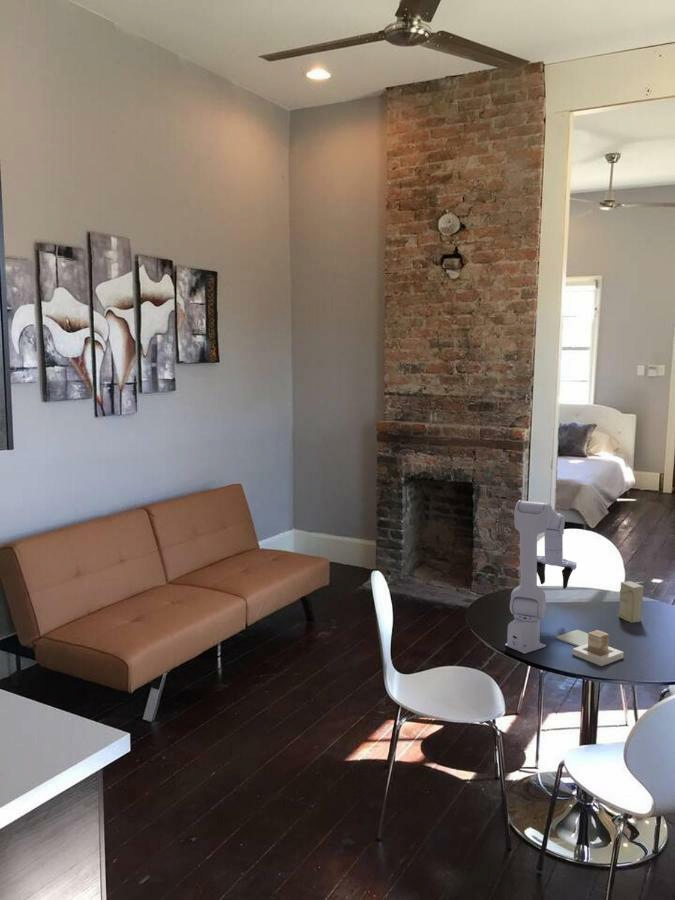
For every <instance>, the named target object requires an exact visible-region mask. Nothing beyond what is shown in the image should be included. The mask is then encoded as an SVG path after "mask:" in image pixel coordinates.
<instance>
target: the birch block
mask: <svg viewBox="0 0 675 900" xmlns="http://www.w3.org/2000/svg"><path fill="white" fill-rule="evenodd" d="M609 637H610V634H609V633H607V632H605V631H602V630H599V629H596V630H593V631H589V632H588V652H590V653H593V654H595V655H598V656H603V655H606V654H608V646H609V644H610V643H609V642H610V641H609V639H610V638H609Z"/></svg>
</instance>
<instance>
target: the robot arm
mask: <svg viewBox="0 0 675 900" xmlns="http://www.w3.org/2000/svg"><path fill="white" fill-rule="evenodd" d="M513 513H514V518H513V519H514V520H513V521H514V523H513V524H514V529H515V530H516V531H518V532H519V539H520V540H519V541H520V543H519V544H520V545H519V546H520V548H519V550H520V555H519V556H520V558H519V559H520V566H519V567H520V584H519V585H518V586H516V587H514V589H512V592H511V593H510V601H509V610H510V612H511V614H512V615H513V618H514V619H513V620H512V621H510V622H509V623H508V625H507V635H506V636H507V639H506V643H505V644H504V645H505V646H506V647H508V648H511V649H513V650H515V651H517V652H520V653H522V654H528V653H530V652H531V653H532V652H534V651H537V650H540V649H543V648H546V647H547V645H546V644H544V643H542V642H540V635H541V633H540V632H541V620H543V618H545V616H546V614H547V613H546V612H547V607H548V606H547V605H548V604H547V600H546V599H547V598H546V594H545V592H544V590H543V589H541V588H540V587H539V586H538V578H539V583H540V585H544V584H545V582H546V565H549V566H553V567H555V566H556V567H561V568H562V570H561V574H562V589H564V590H565V589H566V588H568V584H569V579H570V577H571V575H572V572H573V571H574V570H576V569H577V561H571V560H569V559H566V558H563V557H564V556H563V555H564V554H563V553H564V552H563V551H564V549H563V547H564V546H563V539H564V538H563V535H564V533H565V530H564V529H565V525H566V524H565V523H566V520H565V519H566V518H565V515H563V514H562V513H558V512H557V511H556V510H555V509H554V508H553V506H552V505H551V503H549V502H539V501H529V500H528V501H527V500H522V499H519V500H517V502H516V503H515V507H514V511H513ZM543 533H544V555H538V536H539V535H540V534H543Z"/></svg>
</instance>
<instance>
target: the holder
mask: <svg viewBox="0 0 675 900" xmlns="http://www.w3.org/2000/svg"><path fill="white" fill-rule="evenodd" d="M624 653H625V652H624V651H622V650H619V649H616V648H614V647H612V646H609V645H608V654H606V655H603V656H598V655H595V654H593V653H590V652H588V644H585V645H582V646H579V647H577V646H575V647H574V648H572V655H573V656H576V657H578V658H580V659H582V660H585V661H586V662H587V661H588V662H590V663H592V664H595V665H597V666H600V667H604V666H606V665H608V664H611V663H614V662H616V661H619V660H621V659H624Z"/></svg>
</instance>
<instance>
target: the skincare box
mask: <svg viewBox="0 0 675 900" xmlns="http://www.w3.org/2000/svg"><path fill="white" fill-rule="evenodd" d="M644 587H645V586H644V585H642V584H639V583H636V582H634V581H632V580H629V581H621V582H620V593H619V606H618V607H619V609H618V617H619V618H621V619H623V620H624V621H626V622H628V621H629V622H628V623H630V624H633V623H640V621H641V622H642V614H643V613H642V612H643V599H644Z"/></svg>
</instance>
